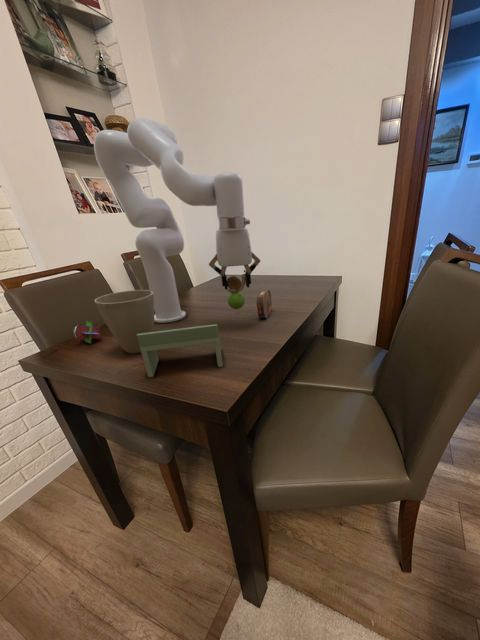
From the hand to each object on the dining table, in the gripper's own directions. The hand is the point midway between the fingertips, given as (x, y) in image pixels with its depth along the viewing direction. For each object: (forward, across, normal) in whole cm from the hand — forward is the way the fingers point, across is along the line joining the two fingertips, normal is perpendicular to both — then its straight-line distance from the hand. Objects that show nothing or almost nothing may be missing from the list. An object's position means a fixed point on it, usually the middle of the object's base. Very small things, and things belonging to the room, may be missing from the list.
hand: (236, 286), depth 87 cm
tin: (+14, -11, -11) cm, 21 cm away
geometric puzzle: (+15, +48, -5) cm, 51 cm away
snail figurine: (+7, 0, 0) cm, 7 cm away
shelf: (+14, +16, +21) cm, 30 cm away
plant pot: (+15, +31, +6) cm, 35 cm away
